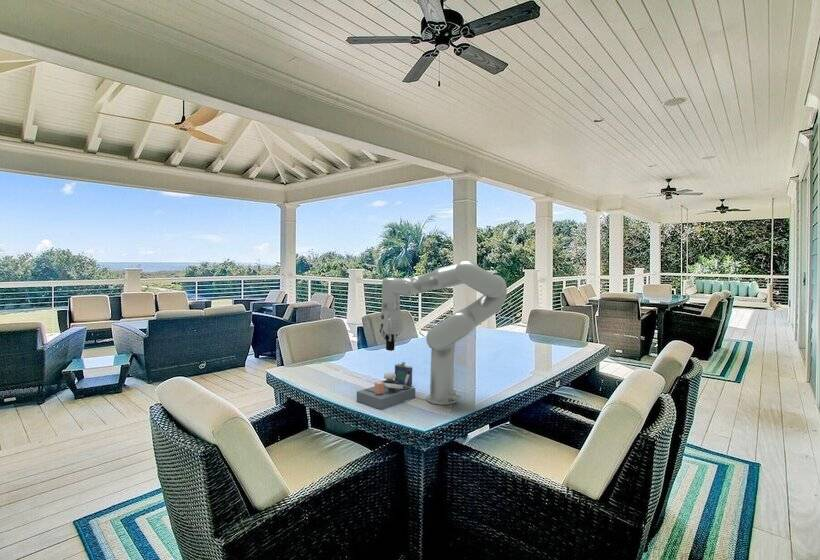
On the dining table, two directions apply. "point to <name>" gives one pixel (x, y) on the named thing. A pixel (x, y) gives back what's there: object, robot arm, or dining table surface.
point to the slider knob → (379, 387)
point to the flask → (403, 374)
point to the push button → (389, 377)
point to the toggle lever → (407, 377)
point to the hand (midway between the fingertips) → (390, 350)
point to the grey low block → (385, 396)
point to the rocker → (393, 385)
